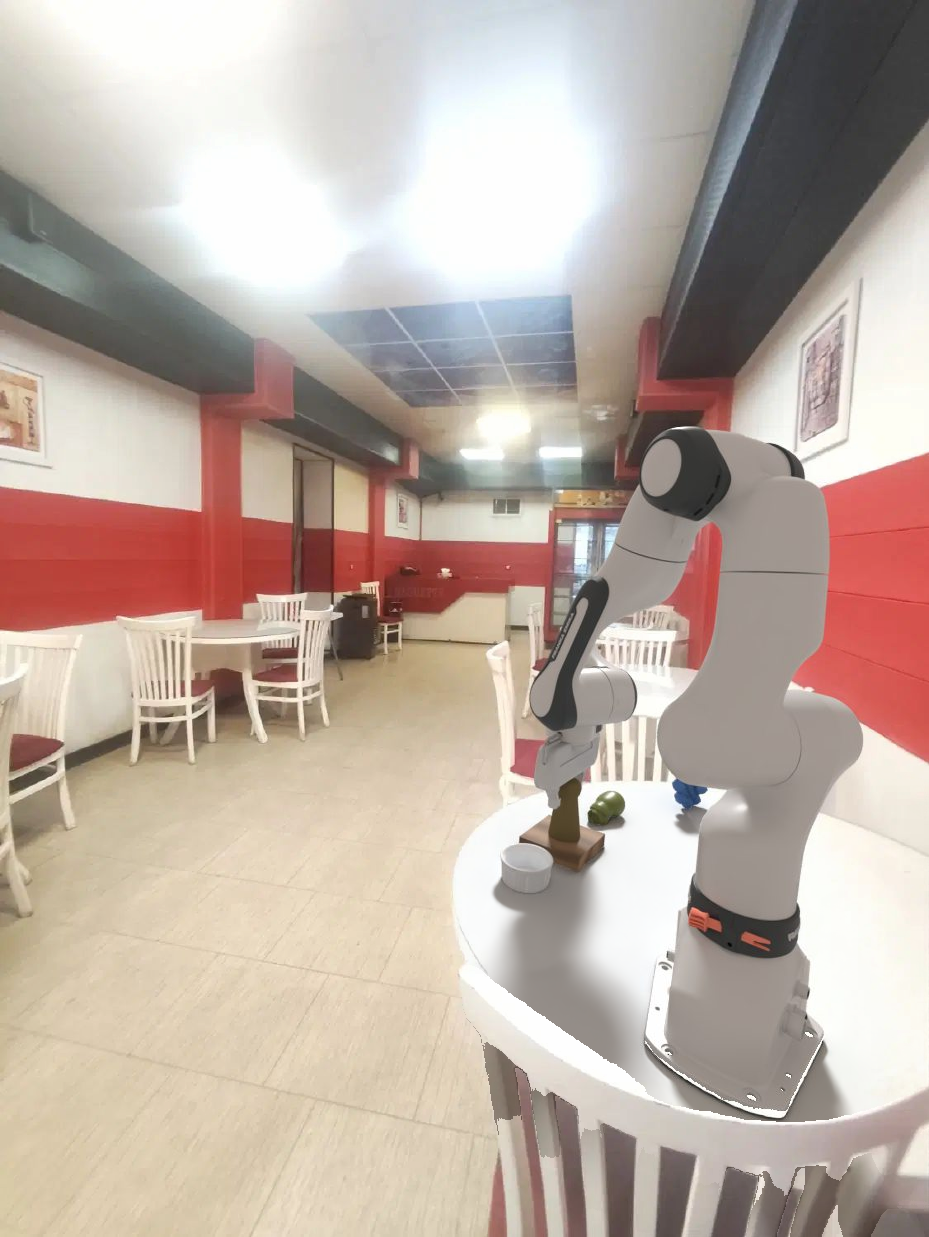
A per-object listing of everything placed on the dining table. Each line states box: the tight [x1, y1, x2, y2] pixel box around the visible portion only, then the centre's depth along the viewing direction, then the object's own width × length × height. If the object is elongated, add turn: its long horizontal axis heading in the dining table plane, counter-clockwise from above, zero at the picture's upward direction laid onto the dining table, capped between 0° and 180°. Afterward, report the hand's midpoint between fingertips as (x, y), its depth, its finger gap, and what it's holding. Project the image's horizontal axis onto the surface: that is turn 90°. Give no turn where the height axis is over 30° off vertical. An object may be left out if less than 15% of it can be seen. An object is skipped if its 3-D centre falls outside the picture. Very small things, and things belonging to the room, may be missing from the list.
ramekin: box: [499, 842, 554, 894], centre depth 91 cm, size 9×9×4 cm
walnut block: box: [518, 814, 606, 873], centre depth 103 cm, size 12×12×2 cm
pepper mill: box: [548, 778, 583, 842], centre depth 102 cm, size 6×6×11 cm
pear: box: [587, 790, 626, 826], centre depth 116 cm, size 6×5×10 cm
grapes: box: [671, 778, 709, 810], centre depth 122 cm, size 12×7×12 cm, turn 126°
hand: (565, 799), depth 102 cm, fingers open, 8 cm apart
